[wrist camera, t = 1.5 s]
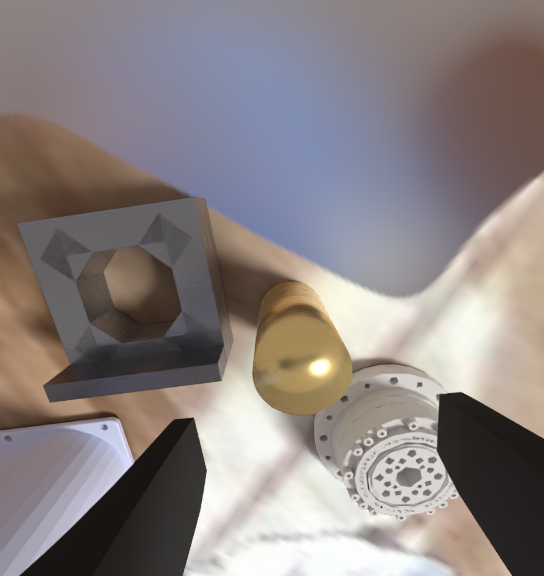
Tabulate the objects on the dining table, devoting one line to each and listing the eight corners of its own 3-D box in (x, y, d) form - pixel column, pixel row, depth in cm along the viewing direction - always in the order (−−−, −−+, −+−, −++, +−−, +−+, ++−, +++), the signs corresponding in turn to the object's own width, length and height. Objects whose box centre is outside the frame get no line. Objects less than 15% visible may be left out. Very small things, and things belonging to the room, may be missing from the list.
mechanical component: (388, 333, 19) (284, 424, 21) (422, 370, 14) (287, 479, 16) (476, 419, 21) (373, 494, 22) (530, 474, 16) (397, 561, 18)
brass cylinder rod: (264, 343, 19) (260, 420, 12) (254, 285, 17) (244, 334, 11) (324, 335, 18) (355, 408, 12) (318, 277, 17) (349, 320, 11)
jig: (101, 357, 19) (50, 402, 14) (54, 221, 16) (-25, 225, 12) (233, 340, 18) (221, 380, 14) (205, 198, 16) (181, 195, 12)
